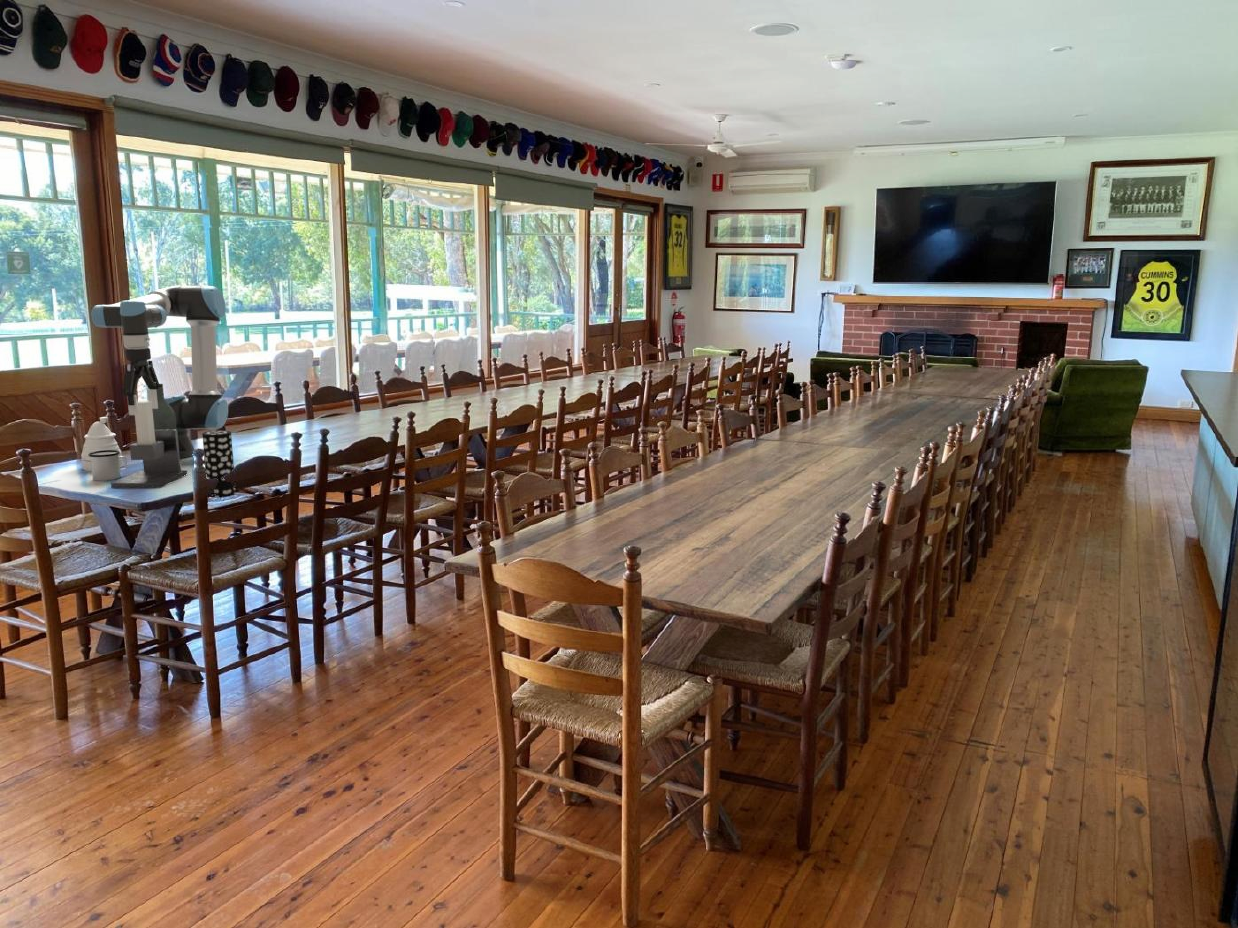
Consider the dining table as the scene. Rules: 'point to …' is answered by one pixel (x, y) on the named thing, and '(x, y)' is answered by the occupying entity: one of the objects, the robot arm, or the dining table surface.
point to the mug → (106, 465)
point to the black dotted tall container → (219, 461)
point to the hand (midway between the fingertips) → (144, 411)
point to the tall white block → (145, 423)
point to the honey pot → (98, 442)
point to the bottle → (163, 413)
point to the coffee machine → (155, 462)
